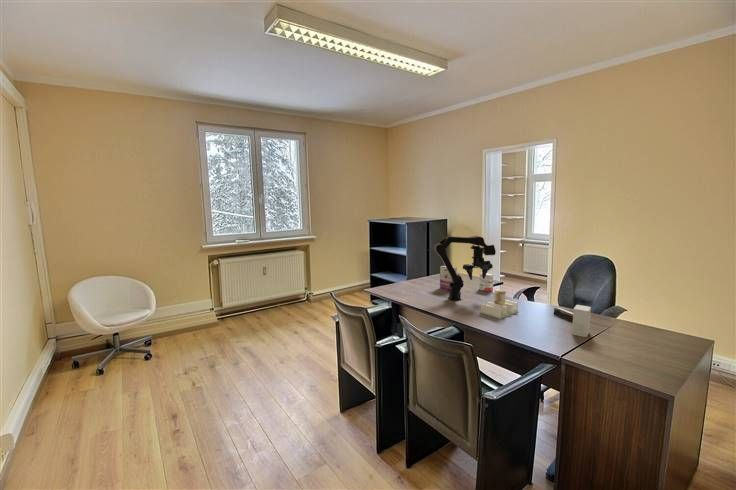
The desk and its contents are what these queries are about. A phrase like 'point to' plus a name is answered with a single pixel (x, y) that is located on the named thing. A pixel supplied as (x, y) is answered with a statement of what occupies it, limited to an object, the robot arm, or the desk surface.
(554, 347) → the desk surface
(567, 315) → the brown flat box
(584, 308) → the small box
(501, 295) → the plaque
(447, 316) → the desk surface
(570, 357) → the desk surface
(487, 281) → the ink box
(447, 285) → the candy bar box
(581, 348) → the desk surface
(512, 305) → the rack
